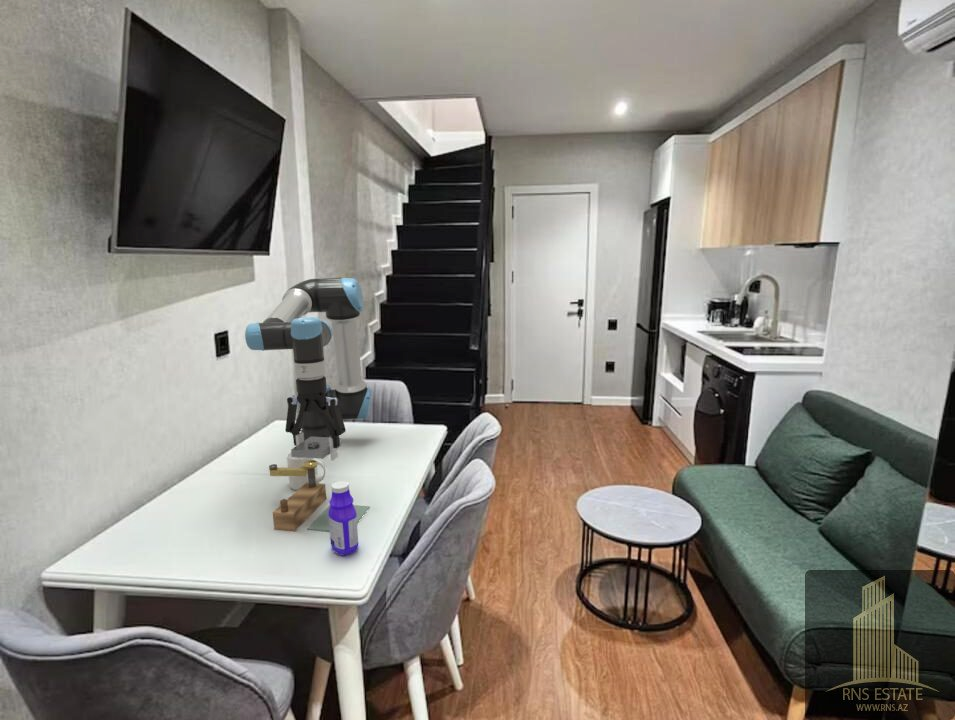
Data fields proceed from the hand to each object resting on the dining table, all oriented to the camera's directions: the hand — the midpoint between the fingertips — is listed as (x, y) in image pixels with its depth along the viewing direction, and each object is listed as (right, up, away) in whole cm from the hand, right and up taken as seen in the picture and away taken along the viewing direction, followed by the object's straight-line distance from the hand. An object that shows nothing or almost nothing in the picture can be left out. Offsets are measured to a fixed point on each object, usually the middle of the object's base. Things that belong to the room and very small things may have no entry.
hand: (317, 457), depth 135 cm
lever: (-11, -7, +12) cm, 17 cm away
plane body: (-7, -17, +6) cm, 19 cm away
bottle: (+11, -21, -12) cm, 26 cm away
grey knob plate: (0, +2, 0) cm, 2 cm away
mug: (-10, -14, +24) cm, 30 cm away
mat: (+5, -17, +3) cm, 18 cm away
